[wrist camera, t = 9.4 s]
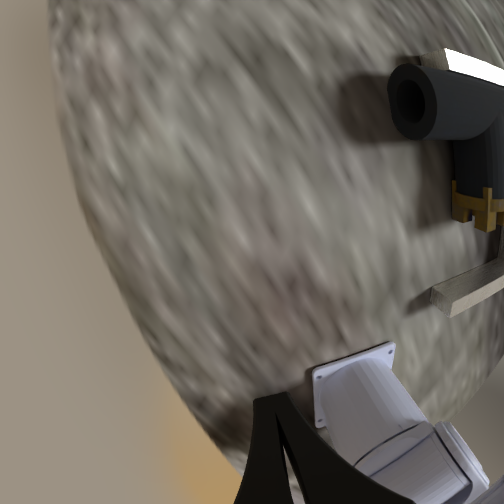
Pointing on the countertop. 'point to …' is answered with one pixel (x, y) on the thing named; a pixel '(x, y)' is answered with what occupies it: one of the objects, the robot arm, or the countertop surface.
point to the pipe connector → (457, 134)
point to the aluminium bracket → (500, 269)
